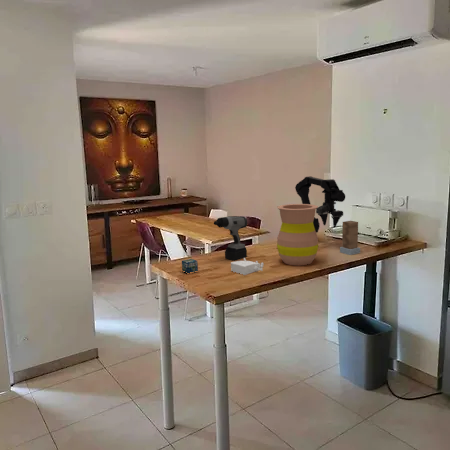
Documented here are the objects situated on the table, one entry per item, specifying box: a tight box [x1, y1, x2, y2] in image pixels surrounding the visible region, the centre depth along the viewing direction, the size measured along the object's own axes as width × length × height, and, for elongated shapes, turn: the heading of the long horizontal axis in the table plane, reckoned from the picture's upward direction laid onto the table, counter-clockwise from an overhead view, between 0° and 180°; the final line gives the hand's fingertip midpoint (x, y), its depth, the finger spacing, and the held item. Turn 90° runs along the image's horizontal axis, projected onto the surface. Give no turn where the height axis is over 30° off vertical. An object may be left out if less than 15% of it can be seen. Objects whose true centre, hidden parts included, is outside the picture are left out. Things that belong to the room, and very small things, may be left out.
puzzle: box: [181, 258, 199, 273], centre depth 218 cm, size 6×6×6 cm
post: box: [341, 220, 359, 249], centre depth 243 cm, size 6×6×15 cm
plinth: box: [339, 246, 361, 256], centre depth 245 cm, size 8×8×3 cm
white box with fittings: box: [230, 257, 264, 276], centre depth 217 cm, size 8×20×16 cm
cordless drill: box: [213, 215, 248, 262], centre depth 237 cm, size 8×24×25 cm, turn 137°
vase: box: [276, 203, 319, 266], centre depth 228 cm, size 22×22×30 cm
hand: (329, 226), depth 257 cm, fingers open, 9 cm apart
